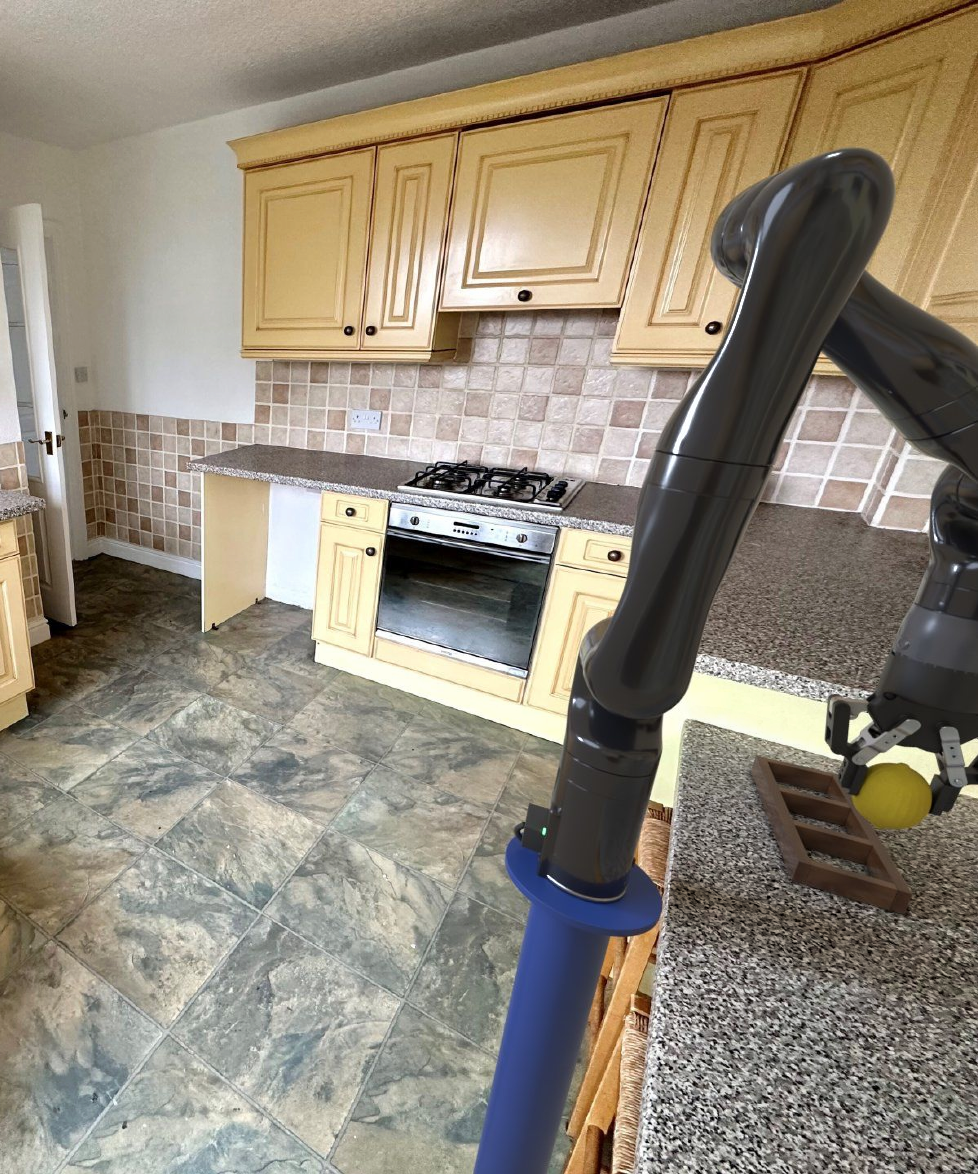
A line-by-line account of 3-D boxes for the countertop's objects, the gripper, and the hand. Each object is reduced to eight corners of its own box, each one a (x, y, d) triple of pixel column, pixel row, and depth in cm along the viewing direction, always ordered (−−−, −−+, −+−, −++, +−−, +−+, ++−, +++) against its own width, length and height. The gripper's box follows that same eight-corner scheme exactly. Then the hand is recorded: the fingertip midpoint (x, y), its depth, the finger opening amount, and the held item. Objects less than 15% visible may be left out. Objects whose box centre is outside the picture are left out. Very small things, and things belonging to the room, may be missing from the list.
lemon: (925, 853, 64) (956, 786, 61) (852, 834, 67) (878, 769, 64) (901, 821, 69) (929, 758, 66) (833, 805, 71) (857, 743, 69)
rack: (791, 881, 78) (798, 861, 77) (750, 771, 100) (755, 755, 99) (903, 915, 73) (913, 894, 72) (834, 791, 95) (841, 774, 94)
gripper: (1039, 657, 61) (970, 804, 66) (837, 627, 68) (789, 762, 73) (1088, 687, 55) (1008, 847, 60) (861, 651, 62) (807, 797, 67)
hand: (888, 800), depth 66 cm, fingers closed on lemon, 5 cm apart
